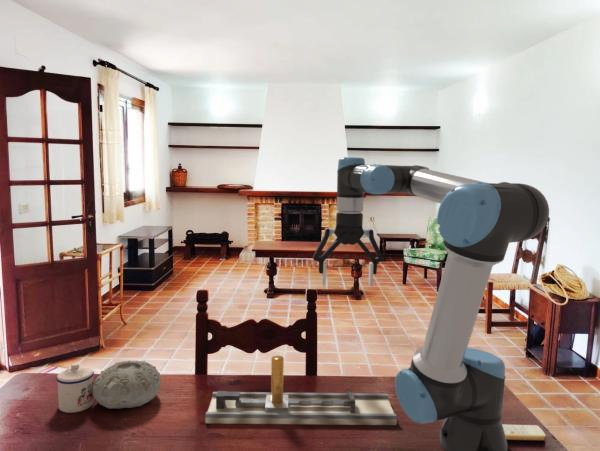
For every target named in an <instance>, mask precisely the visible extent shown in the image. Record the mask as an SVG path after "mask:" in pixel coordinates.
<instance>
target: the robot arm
mask: <svg viewBox="0 0 600 451" xmlns="http://www.w3.org/2000/svg"><path fill="white" fill-rule="evenodd" d="M336 173H337V174H336V175H337V176H336V177H337V178H336V179H337V180H336V181H337V182H336V185H337V186H336V193H337V195H336V211H337V212H336V214H335V215H336V216H335V228H334V229H333V228H328V227H325V229H324V233H323V237H322V239H321V240H320V242H319V244H318V246H317V248H316V250H315V252H314V253H313V255H312V260H313V261H316V262H318V273H319V274H322V279H321V281H322V284H321V285H322V286H326V283H327V282H326V276H327V275H326V273H327V262H326V259H328V258H329V257H330V255H331V254H332V253H333V252H334V251H335V250H336V249H337V248H338V247H339V245H340V244H342V245H343V246H345V245H351V246H354V245H356V244H358V246H359V247H360V248H361V250H362V251H363V252H364V253H365V254H366V255H367V257H368V258H369V259H370V260H371V261H370V262H369V263H368V282H367V284H368V286H369V287H373V284H374V283H373V282H374V281H373V280H374V275H377V271H378V270H377V269H378V264H379V263H381V262H382V263H383V262H384V256H383V255H382V252H381V250H380V248H379V245H378V243H377V241H376V239H375V237H374V236H375V235H374V230H373V229H372V228H368V229H363V228H364V227H363V224H364V222H363V220H364V214H363V213H362V212H363V211H364V195H365V194H364V193H367V194H370V195H385V194H408V195H412V196H415V197H419V198H421V199H422V198H423V199H426V200H429V201H432V202H434V203H438V204H440V205H439V207H438V210H437V216H436V218H437V219H436V221H437V222H436V223H437V224H438V225H439V227H438V232H439V234H440V235H441V238H442V239H443V242H442V246H443V247H444V249H445V250H446V252H447V253H448V254H447V257H446V261H445V265H444V269H443V272H442V275H441V280H440V283H439V286H438V291H437V294H436V298H435V302H434V305H433V308H432V312H431V315H430V316H431V317H430V320H429V323H428V327H427V330H426V333H425V334H426V335H425V338H424V342H423V345H422V348H419V349H417V350H415V352H413V355H412V359H411V362H410V366H409V367H408V368H403V369H401V370H400V371H398V372H397V374H396V376H395V378H394V388H395V394H396V397H397V400H398V402H399V404H400V407H401V408H402V411H404V414H406V416H407V417H408V418H409V419H410V420H411V421H413V422H415V423H417V424H422V425H423V424H428V423H431V424H432V423H435V422H438V421H441V420H444V421H443V423H442V425H441V427H440V433H439V443H440V445H441V447H442V448H443V450H444V451H508V441H507V438H506V433H505V430H504V426H503V422H502V413H503V402H504V401H503V400H504V392H505V381H506V379H507V378H506V366H505V365H506V364H505V362H504V361H503V359H501V358H500V357H499V356H497V355H495V354H493V353H490V352H488V351H486V350H482V349H478V348H472V347H468V345H469V344H470V340H471V338H472V333H473V330H474V327H475V324H476V321H477V317H478V315H479V311H480V308H481V304H482V301H483V298H484V295H485V291H486V289H487V285H488V283H489V279H490V276H491V272H492V270H493V267H494V266H495V265H497V264H500V263H502V262H503V261H504V260H505V256H506V254H507V250H508V247H509V245H510V243H518V242H519V243H521V242H524V241H525V242H526V241H528V240H531V239H532V238H535V237H536V236H537V235H539V234H540V233H541V232H542V231H543V230H544V229H545V227H546V225H547V223H548V220H549V217H550V206H549V203H548V200H547V199H546V197H545V195H544V194H543V193H542V192H541V191H540V190H539V189H537V187H534V186H532V185H529V184H525V183H519V182H518V183H515V182H513V183H510V182H508V181H507V182H506V181H500V182H498V183H492V182H491V183H490V182H485V181H480V180H476V179H472V178H469V177H468V178H467V177H463V176H459V175H454V174H449V173H446V172H442V171H441V172H440V171H437V170H432V169H430V168H429V167H427V166H422V165H414V164H413V165H397V164H396V165H391V164H375V163H374V164H366V161H365V158H364V157H353V156H352V157H350V156H349V157H348V156H347V157H346V156H345V157H340V158H339V159H338V165H337V171H336ZM333 234H334V235H335V237H336V238H335V239H334V241H333V242H332V243H331V244H330V246H328V248H327V249H325V251H324V252H323V253H322V251H323V249H324V248H325V245H326V244H327V242H328V240H329V237H332V235H333ZM364 235H365V236H366V237H367V238H368V240H369V242H370V244H371V246H372V248H373V251H374V253H375V255H376V257H375V256H374V254H373V253H372V252H371V251H370V250H369V248H368V247H367V246H366V245H365V243H364V242H363V241H362V240H361V238H362V237H363V236H364ZM321 253H322V254H321ZM320 255H321V256H320Z"/></svg>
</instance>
